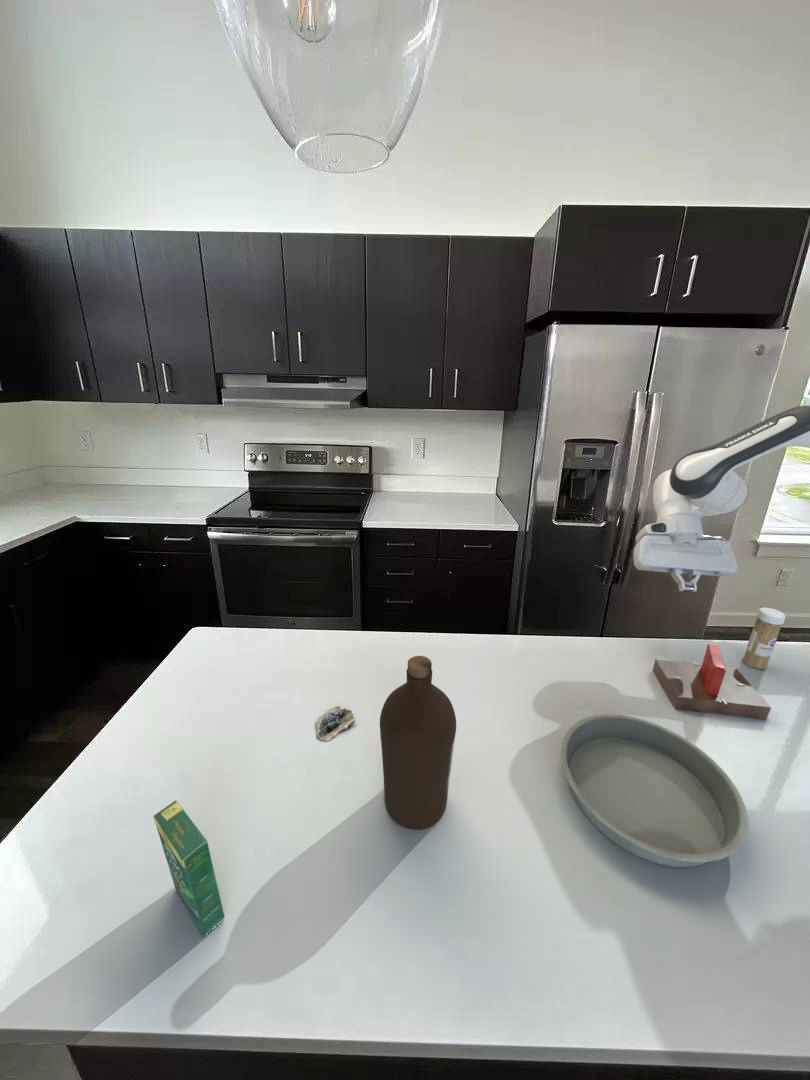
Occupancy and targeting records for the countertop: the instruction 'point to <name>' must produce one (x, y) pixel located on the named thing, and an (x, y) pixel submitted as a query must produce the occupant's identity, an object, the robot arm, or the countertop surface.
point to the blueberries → (333, 723)
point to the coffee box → (190, 866)
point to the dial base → (690, 694)
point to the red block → (713, 669)
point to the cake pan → (653, 791)
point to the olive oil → (417, 748)
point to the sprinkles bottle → (763, 637)
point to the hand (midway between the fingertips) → (688, 591)
